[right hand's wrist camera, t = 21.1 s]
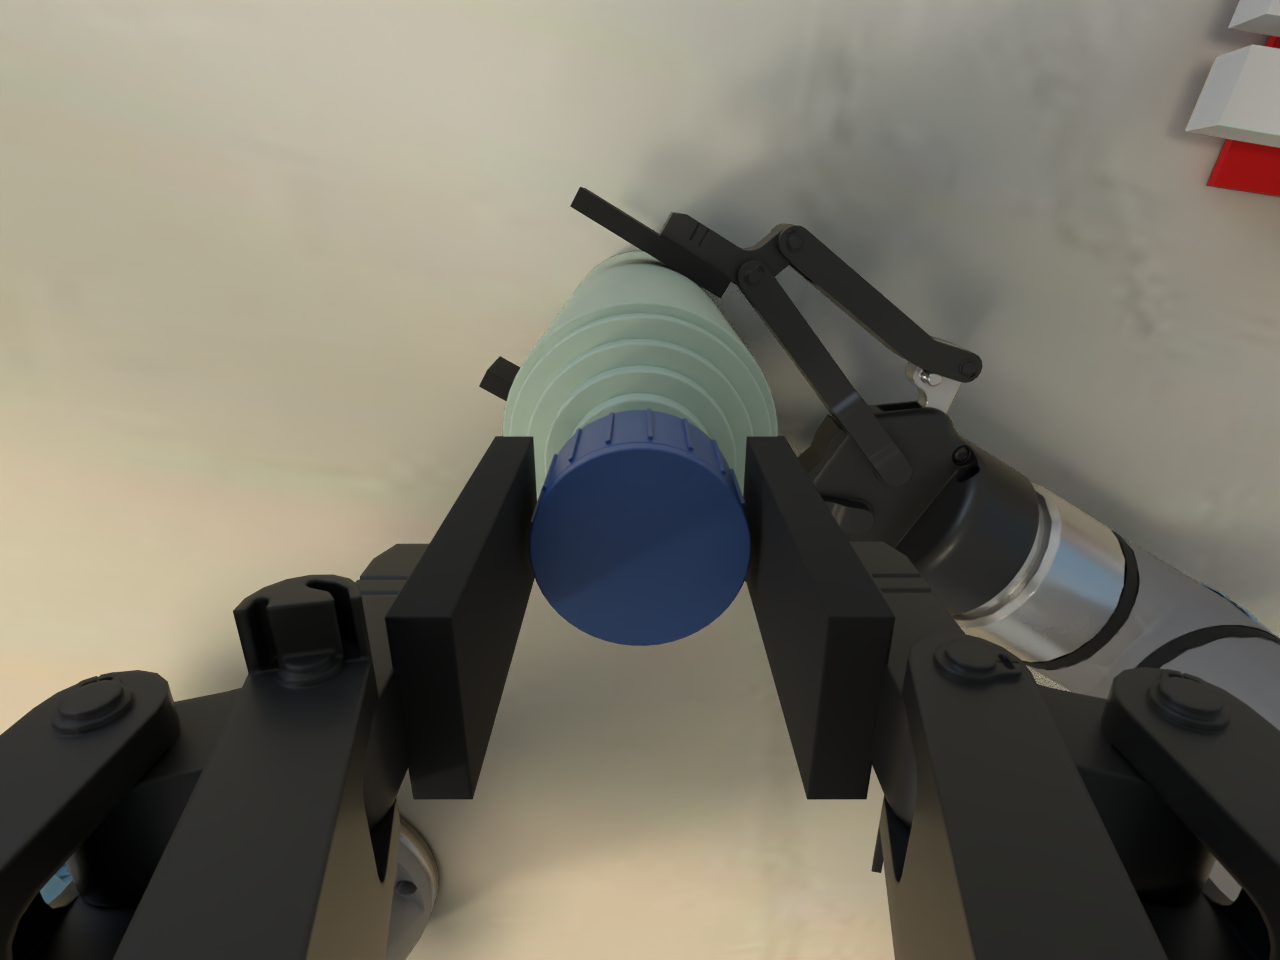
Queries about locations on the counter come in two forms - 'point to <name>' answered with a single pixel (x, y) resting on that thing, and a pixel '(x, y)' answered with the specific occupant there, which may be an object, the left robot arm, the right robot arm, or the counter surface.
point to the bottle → (639, 364)
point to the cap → (640, 530)
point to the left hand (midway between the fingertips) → (532, 288)
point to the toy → (1245, 105)
